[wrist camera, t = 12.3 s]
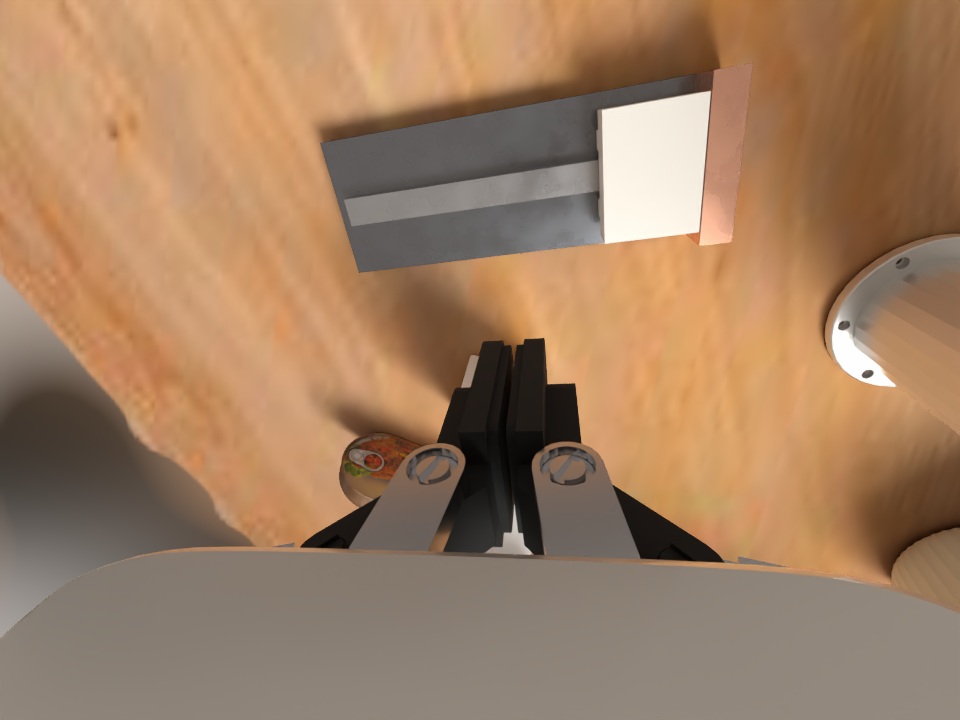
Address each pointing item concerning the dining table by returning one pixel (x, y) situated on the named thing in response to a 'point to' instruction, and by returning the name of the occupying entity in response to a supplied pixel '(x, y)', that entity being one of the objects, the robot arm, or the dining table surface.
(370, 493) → the tin
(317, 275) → the dining table surface
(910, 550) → the canister
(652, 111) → the slider
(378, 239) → the rail
